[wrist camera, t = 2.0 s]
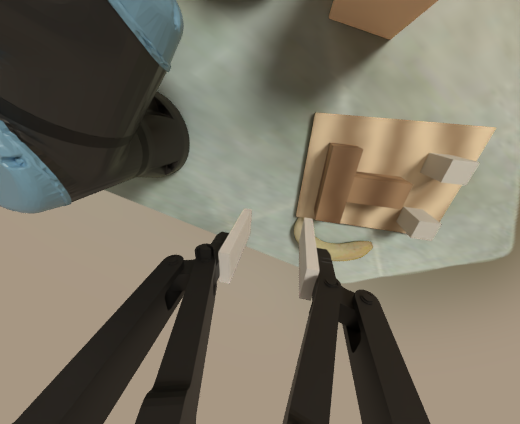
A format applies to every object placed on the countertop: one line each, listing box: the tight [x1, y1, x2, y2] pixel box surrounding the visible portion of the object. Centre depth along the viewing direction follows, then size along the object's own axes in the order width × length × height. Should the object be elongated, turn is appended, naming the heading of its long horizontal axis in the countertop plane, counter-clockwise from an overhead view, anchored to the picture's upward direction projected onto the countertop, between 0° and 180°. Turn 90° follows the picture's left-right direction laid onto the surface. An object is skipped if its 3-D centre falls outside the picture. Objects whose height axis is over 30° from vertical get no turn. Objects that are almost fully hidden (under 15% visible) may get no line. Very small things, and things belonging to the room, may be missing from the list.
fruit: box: [294, 217, 373, 261], centre depth 38 cm, size 7×15×3 cm, turn 73°
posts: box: [396, 153, 480, 241], centre depth 29 cm, size 3×12×5 cm, turn 176°
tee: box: [314, 143, 413, 224], centre depth 30 cm, size 12×12×4 cm
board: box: [296, 113, 496, 233], centre depth 32 cm, size 24×18×1 cm
